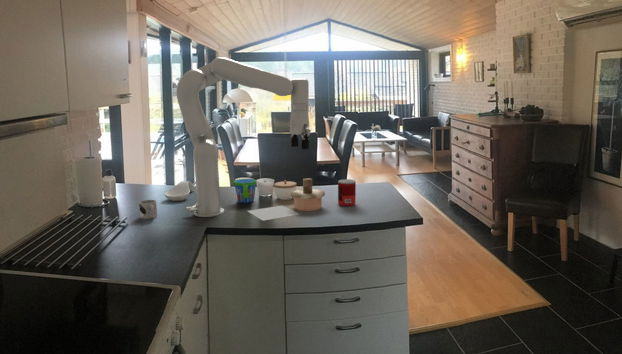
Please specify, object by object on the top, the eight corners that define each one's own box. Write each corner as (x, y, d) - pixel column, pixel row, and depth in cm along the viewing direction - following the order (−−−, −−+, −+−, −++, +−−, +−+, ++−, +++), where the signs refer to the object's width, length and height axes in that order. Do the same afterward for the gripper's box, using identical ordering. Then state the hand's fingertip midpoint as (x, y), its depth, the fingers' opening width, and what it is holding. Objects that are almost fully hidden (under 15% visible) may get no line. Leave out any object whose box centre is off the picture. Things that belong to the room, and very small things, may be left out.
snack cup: (236, 198, 213) (235, 177, 211) (258, 197, 213) (257, 177, 211) (232, 206, 197) (231, 184, 196) (256, 205, 198) (255, 183, 196)
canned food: (358, 204, 198) (359, 180, 196) (347, 207, 192) (348, 183, 190) (345, 201, 203) (345, 178, 201) (334, 204, 197) (334, 181, 195)
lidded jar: (298, 196, 214) (297, 178, 212) (295, 202, 203) (294, 182, 201) (276, 196, 215) (276, 178, 213) (272, 201, 204) (272, 182, 202)
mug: (138, 216, 182) (136, 201, 181) (154, 214, 186) (153, 199, 185) (145, 222, 175) (144, 206, 173) (162, 219, 179) (161, 203, 177)
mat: (262, 221, 173) (262, 220, 173) (246, 212, 187) (246, 210, 187) (300, 215, 181) (300, 214, 181) (282, 206, 196) (282, 205, 195)
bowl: (302, 213, 184) (302, 199, 183) (289, 207, 195) (289, 193, 193) (326, 209, 190) (326, 195, 189) (313, 203, 200) (312, 190, 199)
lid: (301, 200, 181) (300, 184, 180) (284, 193, 194) (284, 178, 193) (331, 196, 189) (331, 180, 187) (313, 189, 201) (313, 174, 200)
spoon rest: (185, 203, 205) (184, 188, 204) (161, 203, 206) (159, 188, 205) (200, 191, 229) (199, 178, 227) (178, 192, 229) (177, 178, 228)
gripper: (283, 107, 192) (283, 146, 195) (301, 108, 177) (301, 150, 180) (298, 107, 195) (298, 145, 198) (317, 108, 180) (317, 149, 183)
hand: (299, 147), depth 189 cm, fingers open, 9 cm apart
